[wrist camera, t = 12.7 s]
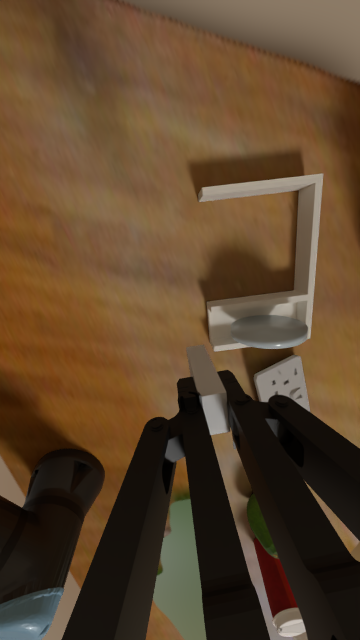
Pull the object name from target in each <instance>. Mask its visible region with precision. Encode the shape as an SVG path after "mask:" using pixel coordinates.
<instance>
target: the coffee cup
mask: <svg viewBox="0 0 360 640" xmlns="http://www.w3.org/2000/svg"><path fill="white" fill-rule="evenodd" d="M254 545H255V550H256V554H257V558H258V562H259V566H260V570H261V573H262V577H263V581H264V585H265V590H266V594H267V598H268V602H269V605H270V609H271V613H272V616H273V620H272V622H273V624H274V626H275V627H276V629H277V632H278V633H279V634H280V635H281V636H285V637H292V636H297V635H300V634H302V633H304V632H305V631H306V630H305V626H304V623H303V620H302V617H301V614H300V611H299V609H298V606H297V603H296V601H295V598H294V596H293V593H292V590H291V588H290V585H289V583H288V580H287V578H286V575H285V572H284V570H283V567H282V565H281V562H280V559H278V558H274V557H272V556H271V555H270V554H269V553H268V552H267V551H266V550H265V549H264V547H263V546H262V544H261V543H260V542H259V540H258V539H257V537H256V538H255V539H254Z"/></svg>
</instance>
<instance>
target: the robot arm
mask: <svg viewBox="0 0 360 640" xmlns="http://www.w3.org/2000/svg"><path fill="white" fill-rule="evenodd" d="M186 349H187V356H188V363H189V369H190V376H191V377H188V378H182V379H179V381H178V382H177V388H178V404H179V412H178V414H177V415H176V416H175V417H173V418H171V419H169V420H167V419H165V418H164V417H155V418H153V419H151V420H149V421H148V422H147V423H146V425H145V427H144V429H143V432H142V434H141V437H140V440H139V442H138V445H137V447H136V450H135V452H134V455H133V458H132V460H131V463H130V465H129V468H128V470H127V473H126V476H125V478H124V481H123V483H122V486H121V488H120V491H119V493H118V496H117V499H116V501H115V504H114V506H113V509H112V511H111V514H110V517H109V519H108V522H107V524H106V527H105V529H104V532H103V535H102V537H101V540H100V542H99V545H98V547H97V550H96V553H95V555H94V558H93V560H92V563H91V565H90V568H89V571H88V573H87V576H86V578H85V581H84V583H83V586H82V588H81V591H80V594H79V596H78V599H77V601H76V604H75V607H74V609H73V612H72V614H71V617H70V619H69V622H68V624H67V627H66V630H65V632H64V635H63V638H62V640H145V639H146V633H147V627H148V622H149V616H150V610H151V605H152V599H153V593H154V588H155V581H156V576H157V571H158V565H159V559H160V554H161V548H162V542H163V537H164V531H165V525H166V520H167V514H168V508H169V503H170V497H171V491H172V486H173V480H174V474H175V469H176V461H177V460H179V459H181V458H183V457H185V458H186V466H187V474H188V482H189V490H190V498H191V506H192V515H193V523H194V530H195V539H196V547H197V555H198V563H199V572H200V580H201V588H202V603H203V613H204V622H205V630H206V637H207V640H270V637H269V633H268V630H267V626H266V623H265V619H264V616H263V612H262V609H261V605H260V602H259V599H258V595H257V593H256V590H255V587H254V585H253V584H252V581H251V578H250V575H249V572H248V568H247V565H246V561H245V557H244V554H243V550H242V547H241V543H240V539H239V536H238V532H237V529H236V525H235V521H234V518H233V514H232V510H231V507H230V503H229V500H228V496H227V492H226V489H225V485H224V482H223V478H222V474H221V471H220V467H219V464H218V460H217V456H216V453H215V449H214V446H213V442H212V438H211V435H214V434H219V433H225V432H230V427H231V430H232V436H233V446H234V449H236V448H237V451H238V453H239V456H240V458H241V461H242V464H243V466H244V469H245V471H246V474H247V477H248V479H249V482H250V484H251V487H252V489H253V492H254V495H255V497H256V500H257V502H258V505H259V508H260V510H261V513H262V515H263V518H264V521H265V523H266V526H267V528H268V531H269V534H270V536H271V539H272V541H273V544H274V546H275V549H276V552H277V554H278V557H279V559H280V562H281V565H282V567H283V570H284V572H285V575H286V578H287V580H288V583H289V585H290V588H291V590H292V593H293V596H294V598H295V601H296V603H297V606H298V609H299V611H300V614H301V617H302V620H303V623H304V626H305V630H306V634H307V638H308V640H360V562H358V561H356V560H355V559H354V558H353V557H352V556H351V554H350V553H349V551H348V550H347V548H346V547H345V545H344V543H343V542H342V540H341V539H340V537H339V536H338V534H337V532H336V531H335V529H334V528H333V526H332V524H331V523H330V521H329V520H328V518H327V516H326V515H325V513H324V512H323V510H322V509H321V507H320V505H319V504H318V502H317V501H316V499H315V497H314V496H313V494H312V493H311V491H310V489H309V488H308V486H307V485H306V483H307V484H308V485H309V486H310V487H311V488H312V489H313V490H314V491H315V493H316V494H317V495H318V496H319V497H320V498H321V499H322V500H323V501H324V502H325V504H326V505H327V506H328V507H329V508H330V509H331V510H332V511H333V512H334V513H335V514H336V516H337V517H338V518H339V519H340V520H341V521H342V522H343V523H344V524H345V525H346V527H347V528H348V529H349V530H350V531H351V532H352V533H353V534H354V535H355V536H356V538H357V539H358V540H359V541H360V449H359V448H358V447H357V446H355V445H354V444H353V443H351V442H350V441H348V440H347V439H346V438H344V437H343V436H342V435H340V434H339V433H338V432H336V431H335V430H333V429H332V428H331V427H329V426H328V425H327V424H325V423H324V422H323V421H321V420H320V419H318V418H317V417H316V416H314V415H313V414H312V413H310V412H309V411H308V410H306V409H305V408H303V407H302V406H301V405H299V404H298V403H297V402H295V401H294V400H293V399H291V398H289V397H287V396H284V395H273V396H271V397H270V398H269V400H268V402H259V401H254V400H253V399H252V398H251V397H250V396H249V395H247V394H245V393H244V391H243V389H242V388H241V386H240V384H239V383H238V381H237V379H236V378H235V376H234V374H233V373H232V372H230V371H229V370H224V371H219V372H217V371H216V369H215V367H214V365H213V363H212V361H211V359H210V357H209V354H208V352H207V350H206V348H205V346H204V345H198V346H192V347H187V348H186ZM104 478H105V471H104V468H103V466H102V464H101V463H100V462H99V460H98V459H97V458H95V457H94V456H92V455H91V454H89V453H87V452H84V451H81V450H77V449H59V450H55V451H52V452H50V453H48V454H46V455H45V456H43V457H42V458H41V459H40V461H39V462H38V464H37V465H36V467H35V469H34V470H33V473H32V476H31V479H30V483H29V488H28V492H27V496H26V500H25V504H24V506H23V507H22V508H21V507H20V506H18V505H16V504H14V503H12V502H11V501H9V500H7V499H5V498H4V497H2V496H0V640H41V639H42V638H43V637H44V636H45V635H46V633H47V632H48V630H49V628H50V626H51V624H52V621H53V618H54V615H55V613H56V610H57V607H58V604H59V601H60V599H61V596H62V595H63V592H64V585H65V582H66V578H67V575H68V572H69V568H70V565H71V562H72V558H73V555H74V552H75V548H76V545H77V541H78V538H79V535H80V531H81V528H82V524H83V521H84V518H85V516H86V514H87V512H88V511H89V509H90V508H91V506H92V504H93V503H94V501H95V499H96V497H97V496H98V494H99V493H100V491H101V489H102V486H103V482H104ZM303 479H304V480H305V481H304V480H303ZM305 482H306V483H305Z"/></svg>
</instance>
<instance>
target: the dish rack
mask: <svg viewBox="0 0 360 640" xmlns="http://www.w3.org/2000/svg"><path fill="white" fill-rule="evenodd" d="M322 184H323V174H315V175H306V176H298V177H289V178H280V179H272V180H263V181H254V182H246V183H237V184H228V185H220V186H211V187H202V189H201V190H200V192H199V194H198V201H199V202H203V201H211V200H220V199H229V198H237V197H246V196H254V195H263V194H271V193H280V192H288V191H297V190H299V197H298V217H297V238H296V258H295V278H294V290H292V291H285V292H277V293H269V294H261V295H254V296H246V297H238V298H230V299H223V300H215V301H207V314H208V327H209V340H210V344H211V346H212V348H213V350H214V352H215V351H223V350H230V349H238V348H245V347H251V346H247V345H244V344H241V343H239V342H237V341H235V340H234V339H233V338H232V336H231V324H232V323H233V322H234V321H236V320H238V319H241V318H244V317H249V316H256V315H279V316H286V317H291V318H294V319H297V320H300V321H302V322H304V323H305V324H306V325H307V327H308V335H307V339H310V335H311V322H312V310H313V297H314V285H315V272H316V259H317V247H318V234H319V221H320V209H321V196H322Z"/></svg>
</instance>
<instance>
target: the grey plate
mask: <svg viewBox="0 0 360 640" xmlns="http://www.w3.org/2000/svg"><path fill="white" fill-rule="evenodd" d="M307 335H308V327H307V325H306V324H305V323H304V322H302V321H300V320H297V319H294V318H291V317H286V316H279V315H256V316H249V317H244V318H241V319H238V320H236V321H234V322H233V323H232V324H231V336H232V338H233V339H234V340H235V341H237V342H239V343H241V344H244V345H247V346H251V347H256V348H263V349H281V348H289V347H293V346H297V345H299V344H301V343H303V342H305V341H306V339H307Z"/></svg>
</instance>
